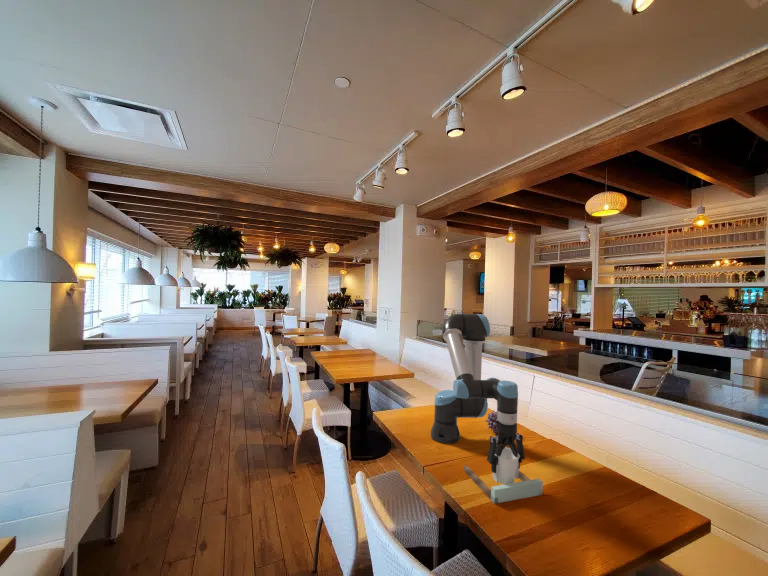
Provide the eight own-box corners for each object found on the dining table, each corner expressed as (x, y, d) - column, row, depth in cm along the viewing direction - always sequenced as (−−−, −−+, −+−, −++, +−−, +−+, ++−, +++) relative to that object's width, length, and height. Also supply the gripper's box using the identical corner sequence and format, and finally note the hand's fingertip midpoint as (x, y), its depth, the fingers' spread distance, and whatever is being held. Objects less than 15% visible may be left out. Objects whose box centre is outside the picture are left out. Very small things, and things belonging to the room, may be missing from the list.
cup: (521, 490, 122) (522, 461, 122) (494, 486, 124) (494, 457, 124) (516, 475, 132) (516, 448, 132) (490, 472, 134) (491, 445, 134)
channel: (463, 470, 139) (463, 465, 139) (505, 463, 145) (505, 459, 145) (494, 503, 118) (494, 498, 118) (542, 494, 124) (542, 489, 124)
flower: (510, 431, 178) (510, 409, 178) (505, 439, 168) (506, 417, 168) (488, 426, 184) (489, 405, 184) (483, 434, 174) (483, 411, 174)
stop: (491, 500, 120) (491, 486, 120) (538, 491, 126) (538, 478, 126) (494, 503, 118) (494, 490, 118) (542, 494, 124) (542, 481, 124)
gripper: (489, 428, 122) (487, 488, 122) (535, 422, 128) (534, 480, 128) (478, 420, 129) (476, 476, 129) (522, 415, 135) (521, 469, 135)
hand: (505, 478), depth 128 cm, fingers closed on cup, 8 cm apart
